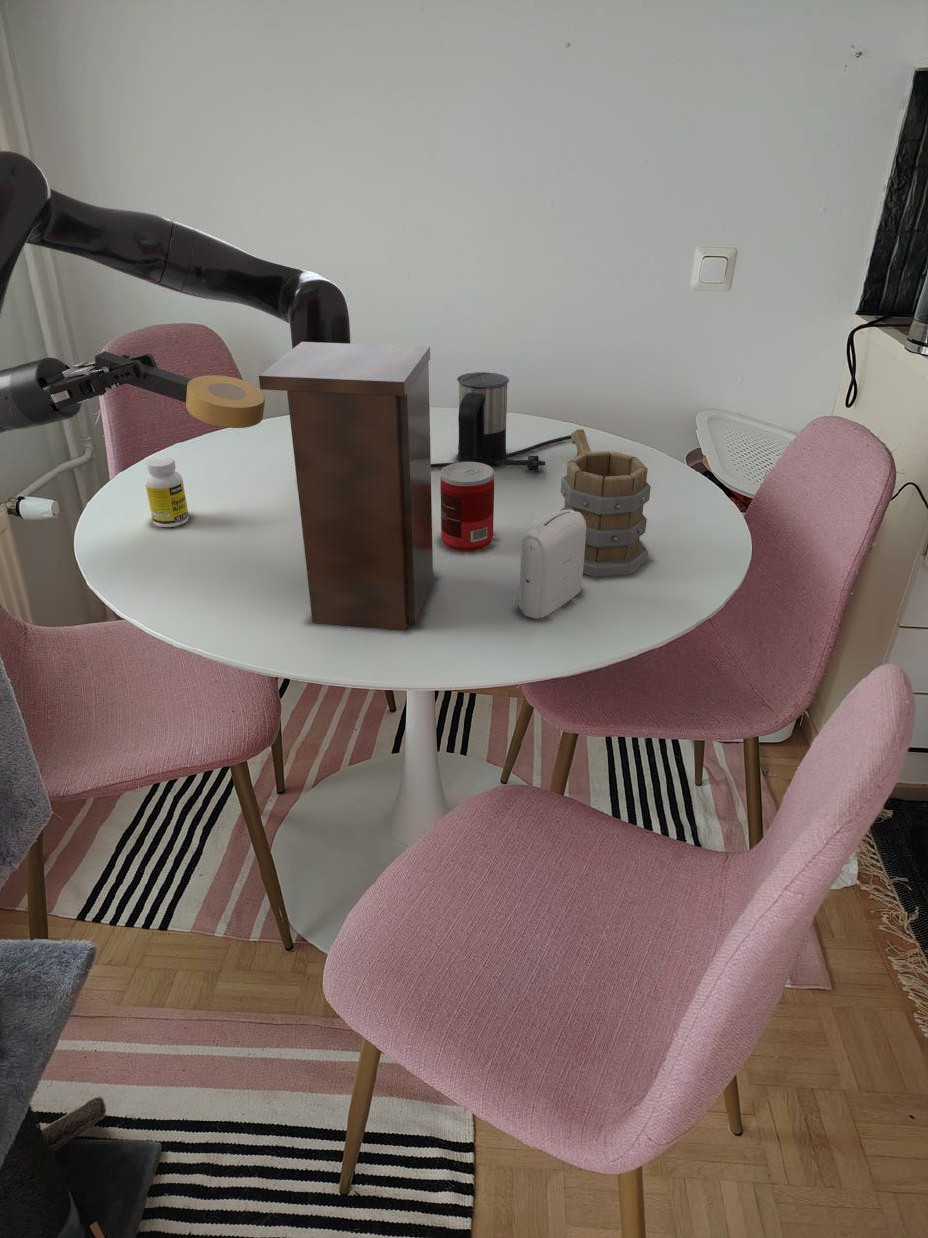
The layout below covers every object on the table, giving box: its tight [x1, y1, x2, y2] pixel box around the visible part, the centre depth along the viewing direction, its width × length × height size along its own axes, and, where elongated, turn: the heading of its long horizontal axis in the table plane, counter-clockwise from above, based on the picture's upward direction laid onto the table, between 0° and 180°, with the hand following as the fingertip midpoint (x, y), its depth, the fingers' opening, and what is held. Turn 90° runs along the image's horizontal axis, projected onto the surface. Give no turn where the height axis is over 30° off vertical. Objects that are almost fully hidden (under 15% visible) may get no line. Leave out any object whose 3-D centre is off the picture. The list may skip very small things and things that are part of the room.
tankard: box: [559, 428, 652, 578], centre depth 122 cm, size 20×13×15 cm, turn 9°
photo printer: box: [518, 509, 586, 620], centre depth 109 cm, size 10×4×12 cm, turn 140°
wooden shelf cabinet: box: [258, 342, 434, 631], centre depth 105 cm, size 16×15×31 cm
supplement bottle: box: [144, 456, 190, 528], centre depth 131 cm, size 5×5×10 cm
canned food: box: [439, 461, 496, 553], centre depth 124 cm, size 8×8×11 cm
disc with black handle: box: [94, 351, 266, 429], centre depth 103 cm, size 20×9×3 cm, turn 80°
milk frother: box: [456, 371, 547, 471], centre depth 149 cm, size 14×16×15 cm
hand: (147, 365), depth 102 cm, fingers closed on disc with black handle, 2 cm apart
